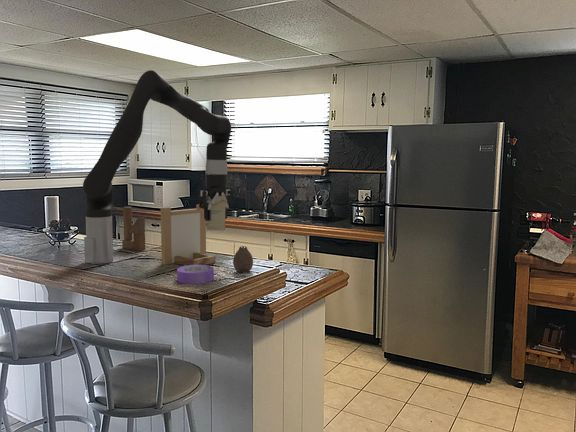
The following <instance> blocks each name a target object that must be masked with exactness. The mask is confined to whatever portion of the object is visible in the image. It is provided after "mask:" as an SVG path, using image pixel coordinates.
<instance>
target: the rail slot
mask: <svg viewBox="0 0 576 432" xmlns="http://www.w3.org/2000/svg"><path fill="white" fill-rule="evenodd" d="M174 262H175V263H174V264H178V265H182V266H188V265H210V264H211V265H212V264H215V263H216V255H213V254H207V253H206V254H201V253H193V259H191V258H186V257H181V256H174Z"/></svg>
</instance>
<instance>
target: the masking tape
mask: <svg viewBox="0 0 576 432" xmlns="http://www.w3.org/2000/svg"><path fill="white" fill-rule="evenodd" d="M214 268H215V267H214V266H211V265H209V264H206V265H188V266H186V265H182V266H180V267H178V268H177V269H176V281H177V282H178V283H180V284H191V285H194V284H195V285H199V284H206V283H210V282H212V280H213V281H214V279H215V276H214V275H215V271H214Z"/></svg>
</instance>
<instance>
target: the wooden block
mask: <svg viewBox="0 0 576 432" xmlns="http://www.w3.org/2000/svg"><path fill="white" fill-rule="evenodd" d="M122 208H123V209H122V211H123V215H122V216H123V239H122V242H121V243H122V246H121V247H122V249H125V248H126V250H133V251H145V250H146V234H145V233H146V219H145V218H146V217H145V216H142V217H140V216H139V217H137V219H136V220H135V221H134V223H133V207H132V206H123V207H122Z"/></svg>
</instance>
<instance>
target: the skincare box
mask: <svg viewBox="0 0 576 432" xmlns="http://www.w3.org/2000/svg"><path fill="white" fill-rule="evenodd" d="M211 200H212V199H211V198H210V196H209V197H208V201H211ZM208 204H209V203H208ZM225 209H226V196H218V197H217V198H216V200H215V202H214V204H213V205H212V206H211V208H210V210H211V220H210V221H206V231H225V230H226V219H225Z"/></svg>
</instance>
